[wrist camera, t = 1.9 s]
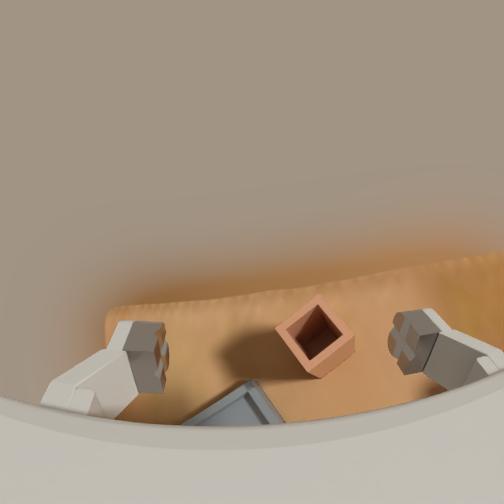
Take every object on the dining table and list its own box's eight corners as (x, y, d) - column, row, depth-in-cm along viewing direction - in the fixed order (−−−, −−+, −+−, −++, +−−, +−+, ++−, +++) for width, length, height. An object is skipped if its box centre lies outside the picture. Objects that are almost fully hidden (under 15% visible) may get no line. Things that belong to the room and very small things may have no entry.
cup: (354, 352, 34) (354, 335, 25) (321, 378, 34) (307, 372, 25) (329, 321, 37) (319, 293, 27) (297, 346, 36) (274, 328, 27)
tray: (320, 469, 29) (318, 474, 26) (215, 521, 28) (207, 527, 26) (256, 380, 36) (250, 379, 34) (163, 438, 36) (153, 440, 34)
